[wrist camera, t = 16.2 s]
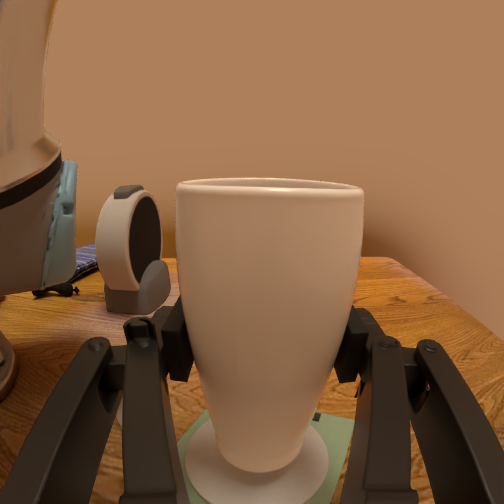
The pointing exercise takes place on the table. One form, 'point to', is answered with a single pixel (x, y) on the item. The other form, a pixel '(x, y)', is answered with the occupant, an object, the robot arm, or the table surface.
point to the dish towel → (85, 260)
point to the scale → (269, 483)
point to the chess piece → (57, 289)
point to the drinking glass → (266, 303)
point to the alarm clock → (131, 252)
